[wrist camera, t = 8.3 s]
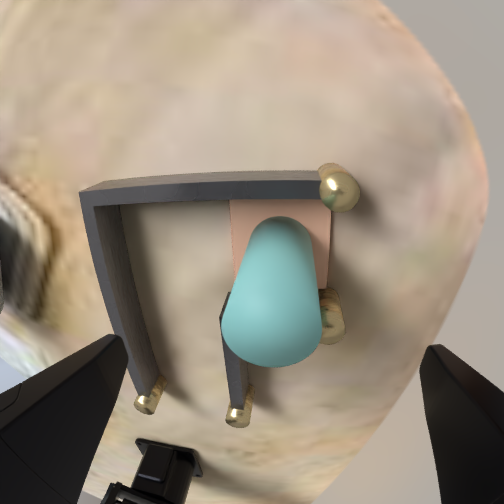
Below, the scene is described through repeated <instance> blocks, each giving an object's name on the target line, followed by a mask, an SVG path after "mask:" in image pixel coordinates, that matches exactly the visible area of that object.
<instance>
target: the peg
mask: <svg viewBox="0 0 504 504" xmlns="http://www.w3.org/2000/svg"><path fill="white" fill-rule="evenodd" d="M221 330H222V335H223V337H224V340H225V342H226V344H227V345H228V346H229V348H230V349H231V350H232V351H233V352H234V353H235V354H236V355H237V356H239V357H240V358H242V359H243V360H245V361H247V362H250V363H252V364H255V365H259V366H263V367H284V366H289V365H292V364H295V363H298V362H300V361H302V360H303V359H305V358H306V357H308V356H309V355H310V354H311V353H312V352H313V351H314V350H315V349H316V347H317V346H318V344H319V342H320V339H321V335H322V322H321V313H320V304H319V296H318V287H317V279H316V272H315V264H314V257H313V249H312V242H311V238H310V235H309V233H308V231H307V230H306V228H305V227H304V226H303V225H302V224H301V223H300V222H298V221H297V220H295V219H293V218H290V217H285V216H275V217H270V218H267V219H265V220H263V221H262V222H260V223H259V224H258V225H257V226H256V227H255V229H254V230H253V232H252V234H251V236H250V239H249V242H248V245H247V248H246V251H245V254H244V256H243V259H242V262H241V265H240V268H239V271H238V274H237V277H236V280H235V282H234V285H233V288H232V291H231V294H230V297H229V300H228V303H227V306H226V309H225V312H224V314H223V318H222V323H221Z"/></svg>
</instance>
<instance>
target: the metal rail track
mask: <svg viewBox="0 0 504 504" xmlns="http://www.w3.org/2000/svg"><path fill="white" fill-rule="evenodd" d="M359 195H360V190H359V186H358V184H357V182H356V181H355V180H354V179H353V178H352V177H351V176H350V175H349V174H348V173H347V172H346V171H345V170H344V169H343V168H342V167H341V166H339V165H337V164H334V163H327V164H324V165H322V166H321V167H320V168H319V169H318V170H317V171H237V172H212V173H193V174H177V175H163V176H151V177H140V178H129V179H120V180H110V181H103V182H101V183H99V184H96V185H94V186H92V187H89V188H87V189H85V190H82V191H80V192H79V197H80V202H81V208H82V213H83V218H84V223H85V228H86V233H87V237H88V242H89V246H90V250H91V255H92V259H93V263H94V267H95V270H96V274H97V278H98V282H99V285H100V289H101V292H102V296H103V299H104V302H105V306H106V309H107V312H108V315H109V318H110V321H111V324H112V327H113V330H114V333H115V335H119V336H121V337H122V339H123V342H124V344H125V347H126V350H127V353H128V357H129V361H128V365H127V369H128V371H129V374H130V376H131V379H132V381H133V384H134V386H135V388H136V391H137V393H138V396H137V398H136V400H135V402H134V406H135V408H136V409H137V410H138V411H140V412H142V413H144V414H147V415H152V414H154V412H155V409H156V407H157V405H158V403H159V400H160V398H161V396H162V393H163V391H164V389H165V387H166V384H167V381H166V379H165V378H164V377H163V376H161V375H160V374H159V370H158V367H157V364H156V361H155V358H154V355H153V351H152V348H151V345H150V341H149V338H148V334H147V331H146V327H145V323H144V320H143V316H142V312H141V308H140V304H139V300H138V296H137V292H136V288H135V284H134V280H133V275H132V271H131V266H130V262H129V257H128V252H127V247H126V242H125V237H124V231H123V226H122V220H121V214H120V208H119V204H134V203H151V202H172V201H198V200H238V199H321V200H322V202H323V204H324V205H325V206H326V207H327V208H328V209H329V210H331V211H334V212H346V211H348V210H350V209H352V208H353V207H354V206H355V205H356V203H357V202H358V199H359ZM230 294H231V292H228V294H227V297H226V300H225V303H224V305H223V308H222V311H221V314H220V316H219V319H220V327H221V323H222V318H223V314H224V312H225V309H226V306H227V303H228V300H229V297H230ZM318 296H319V304H320V313H321V322H322V335H321V339H320V342H319V343H321V344H325V345H330V344H335V343H337V342H339V341H340V340H341V339H342V338H343V337H344V335H345V325H344V320H343V315H342V311H341V306H340V301H339V297H338V294H337V292H336V291H335V290H333V289H331V288H326V289H318ZM221 335H222V330H221ZM222 343H223V351H224V358H225V366H226V373H227V380H228V387H229V394H230V402H229V407H228V411H227V415H226V423H227V424H229V425H230V426H232V427H236V428H244V427H247V426H248V425H249V423H250V417H251V411H252V405H253V399H254V392H255V389H254V387H253V386H251V385H250V384H249V381H248V368H247V361H245V360H243V359H242V358H240V357H239V356H237V355H236V354H235V353H234V352H233V351H232V350H231V349H230V348H229V346H228V345H227V344H226V342H225V340H224V337H223V335H222Z"/></svg>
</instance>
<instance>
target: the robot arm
mask: <svg viewBox="0 0 504 504" xmlns="http://www.w3.org/2000/svg"><path fill="white" fill-rule="evenodd" d="M128 361H129V357H128V353H127V350H126V347H125V344H124V342H123V339H122V337H121V336H119V335H114V334H108V335H106V336H104V337H102V338H100V339H99V340H97V341H95V342H93V343H91V344H90V345H88V346H86V347H84V348H82V349H81V350H79V351H77V352H75V353H74V354H72V355H70V356H68V357H66V358H65V359H63V360H61V361H59V362H57V363H56V364H54V365H52V366H50V367H48V368H47V369H45V370H43V371H41V372H39V373H38V374H36V375H34V376H32V377H30V378H29V379H27V380H25V381H23V382H22V383H19V384H18V385H16V386H14V387H12V388H11V389H9V390H7V391H5V392H3V393H1V394H0V504H77V502H78V499H79V496H80V493H81V490H82V488H83V485H84V482H85V479H86V477H87V474H88V471H89V469H90V466H91V463H92V461H93V458H94V455H95V453H96V450H97V448H98V445H99V443H100V440H101V438H102V435H103V433H104V430H105V428H106V425H107V423H108V420H109V418H110V416H111V413H112V411H113V408H114V406H115V403H116V401H117V398H118V394H119V391H120V388H121V384H122V381H123V378H124V375H125V371H126V368H127V365H128ZM419 372H420V379H421V386H422V393H423V400H424V409H425V415H426V421H427V425H428V430H429V434H430V439H431V444H432V449H433V454H434V459H435V464H436V470H437V476H438V482H439V489H440V496H441V503H442V504H504V392H503V391H501V390H500V389H499V388H498V387H496V386H495V385H494V384H492V383H491V382H490V381H489V380H487V379H486V378H485V377H484V376H482V375H480V374H479V373H478V372H477V371H476V370H474V369H473V368H472V367H471V366H469V365H468V364H467V363H465V362H464V361H463V360H461V359H460V358H459V357H457V356H456V355H455V354H454V353H452V352H451V351H450V350H448V349H447V348H446V347H444V346H443V345H441V344H437V345H436V344H435V345H429V346H428V347H427V349H426V351H425V354H424V357H423V359H422V362H421V365H420V370H419ZM135 443H136V445H137V447H138V448H139V450H140V451H141V453H142V455H143V457H142V460H141V462H140V465H139V467H138V470H137V472H136V475H135V477H134V480H133V482H132V485H131V487H130V488H129V487H127V486H125V485H122V483H120V482H118V481H117V483H116V484H114V483H110V485H109V487H108V490H107V492H106V494H105V496H104V498H103V500H102V501H101V503H100V504H185V501H186V497H187V494H188V490H189V487H190V483H191V480H192V476H194V477H202V475H203V473H202V470H201V468H200V465H199V463H198V460H197V458H196V455H195V453H194V451H193V450H191V449H186V448H180V447H175V446H170V445H165V444H160V443H156V442H151V441H147V440H143V439H138V438H137V439H136V441H135ZM119 498H120V499H123V501H122V502H121V501H119V500H118V499H119Z"/></svg>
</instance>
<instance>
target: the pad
mask: <svg viewBox="0 0 504 504" xmlns="http://www.w3.org/2000/svg"><path fill="white" fill-rule="evenodd" d="M229 204H230V219H231V234H232V248H233V261H234V275H235V280H236V277H237V274H238V271H239V268H240V265H241V262H242V259H243V256H244V254H245V251H246V248H247V245H248V242H249V239H250V236H251V234H252V232H253V230H254V229H255V227H256V226H257V225H258V224H259V223H260V222H262V221H263V220H265V219H267V218H270V217H275V216H285V217H290V218H293V219H295V220H297V221H298V222H300V223H301V224H302V225H303V226H304V227H305V228H306V230H307V231H308V233H309V235H310V238H311V242H312V249H313V257H314V264H315V272H316V279H317V287H318V289H326V288H327V275H328V261H329V244H330V224H331V210H329V209H328V208H327V207H326V206H325V205H324V204H323V202H322V200H321V199H238V200H229Z"/></svg>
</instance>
